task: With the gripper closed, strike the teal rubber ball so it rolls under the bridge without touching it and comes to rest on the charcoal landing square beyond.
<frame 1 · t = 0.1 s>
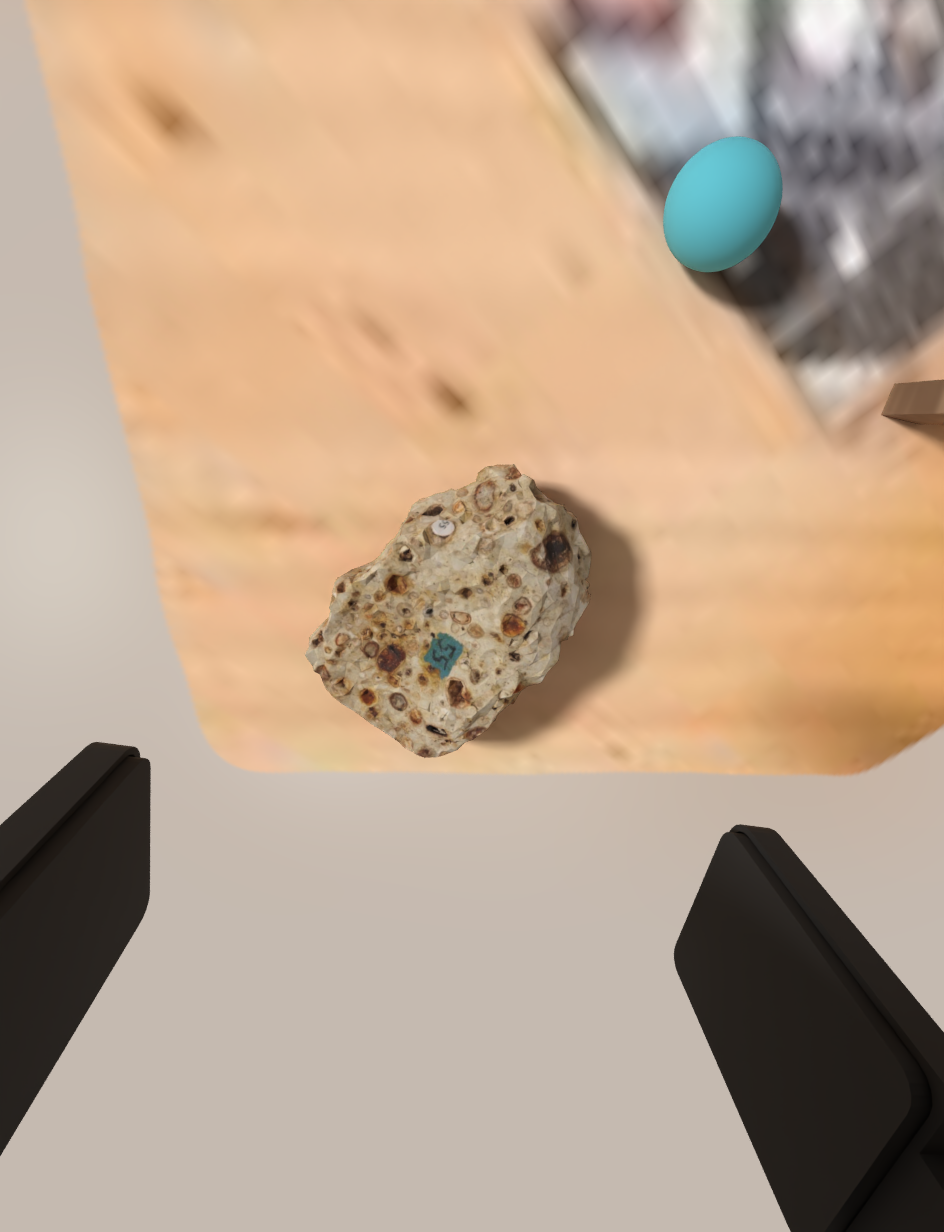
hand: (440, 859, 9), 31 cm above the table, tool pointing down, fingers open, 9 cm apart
rock: (451, 595, 40), on the table
ball: (720, 208, 30), on the table
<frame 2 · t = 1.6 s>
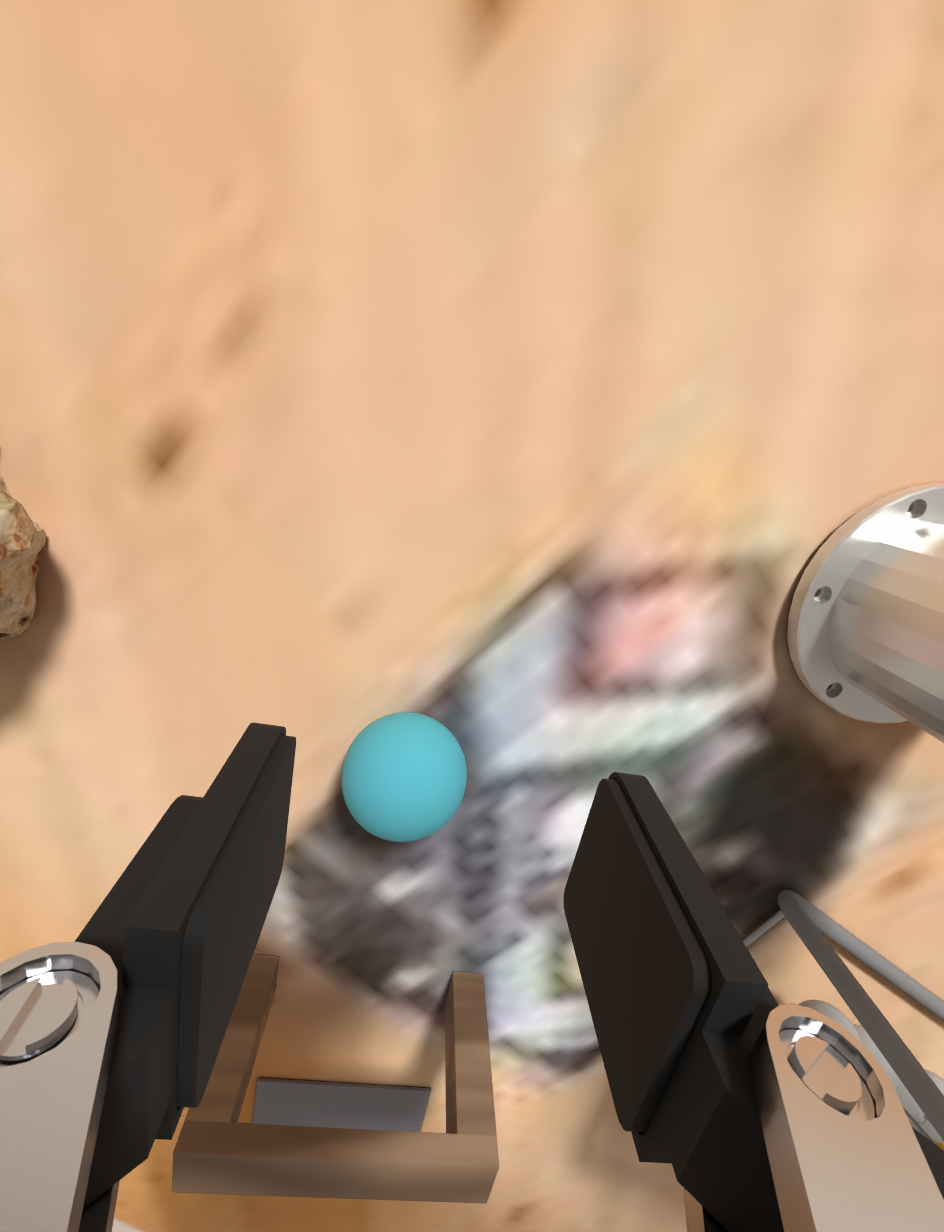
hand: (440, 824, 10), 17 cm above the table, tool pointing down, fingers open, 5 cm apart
bridge: (364, 980, 35), on the table
ball: (404, 775, 26), on the table
newton's cradle: (847, 1013, 39), on the table, touching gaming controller
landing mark: (336, 1136, 40), on the table
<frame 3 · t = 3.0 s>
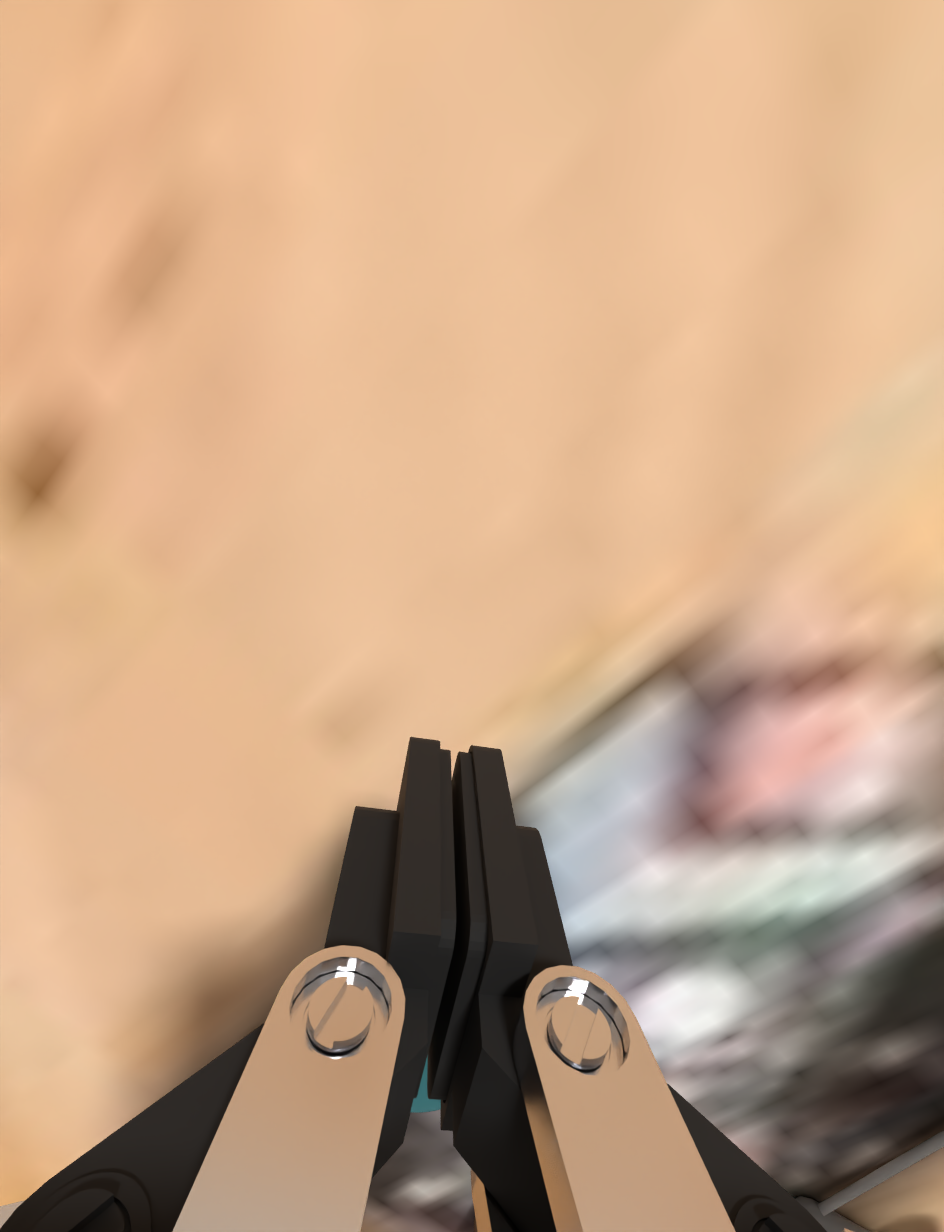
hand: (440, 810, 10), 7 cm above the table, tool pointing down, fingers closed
ball: (423, 980, 17), on the table
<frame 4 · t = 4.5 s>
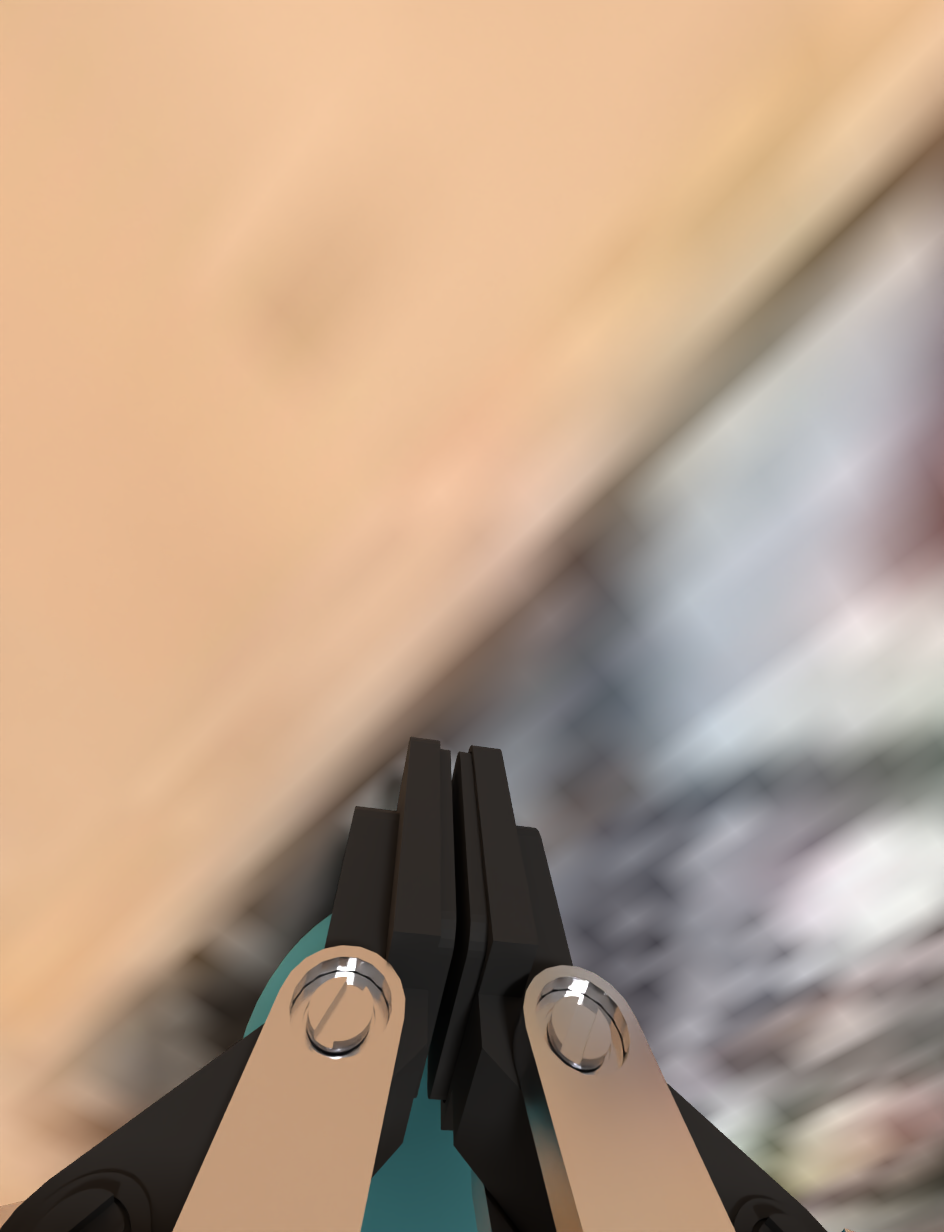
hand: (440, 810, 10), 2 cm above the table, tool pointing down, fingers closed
ball: (400, 1064, 10), on the table
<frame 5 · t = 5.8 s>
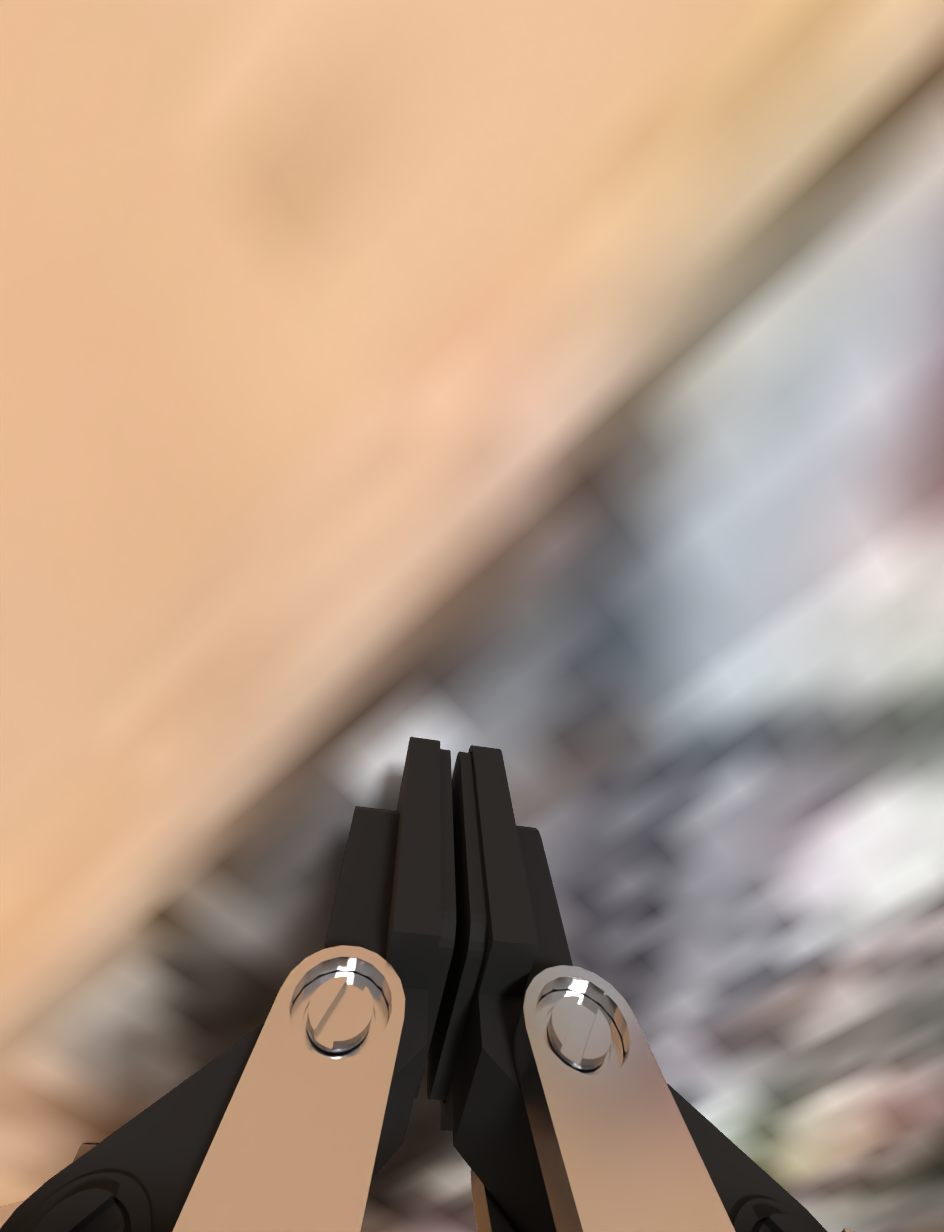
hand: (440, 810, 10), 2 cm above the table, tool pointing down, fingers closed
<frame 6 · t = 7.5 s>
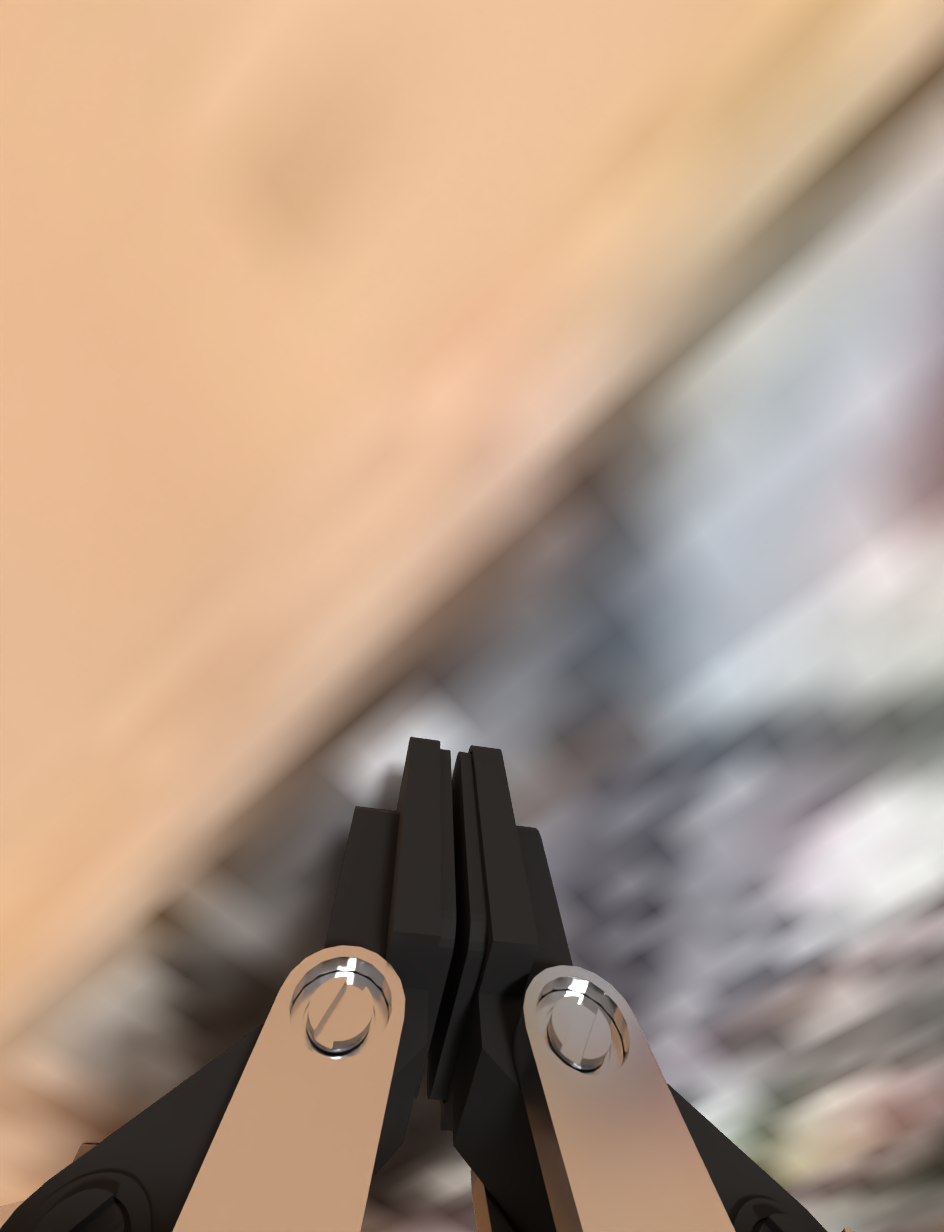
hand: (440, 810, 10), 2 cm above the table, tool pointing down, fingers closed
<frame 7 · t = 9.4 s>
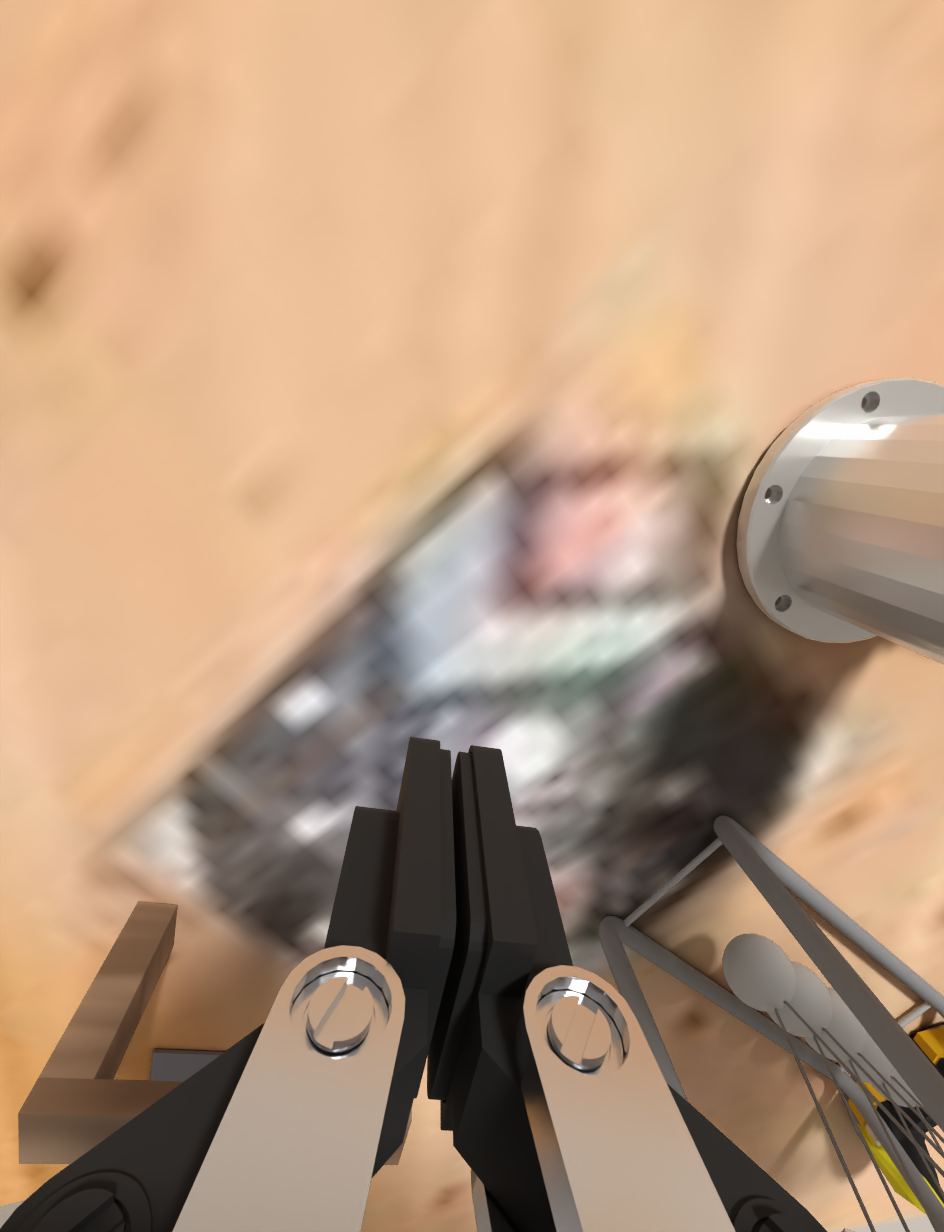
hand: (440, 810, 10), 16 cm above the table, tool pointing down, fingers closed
bridge: (276, 933, 31), on the table
newton's cradle: (782, 956, 37), on the table
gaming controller: (911, 1066, 44), on the table
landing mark: (245, 1115, 36), on the table
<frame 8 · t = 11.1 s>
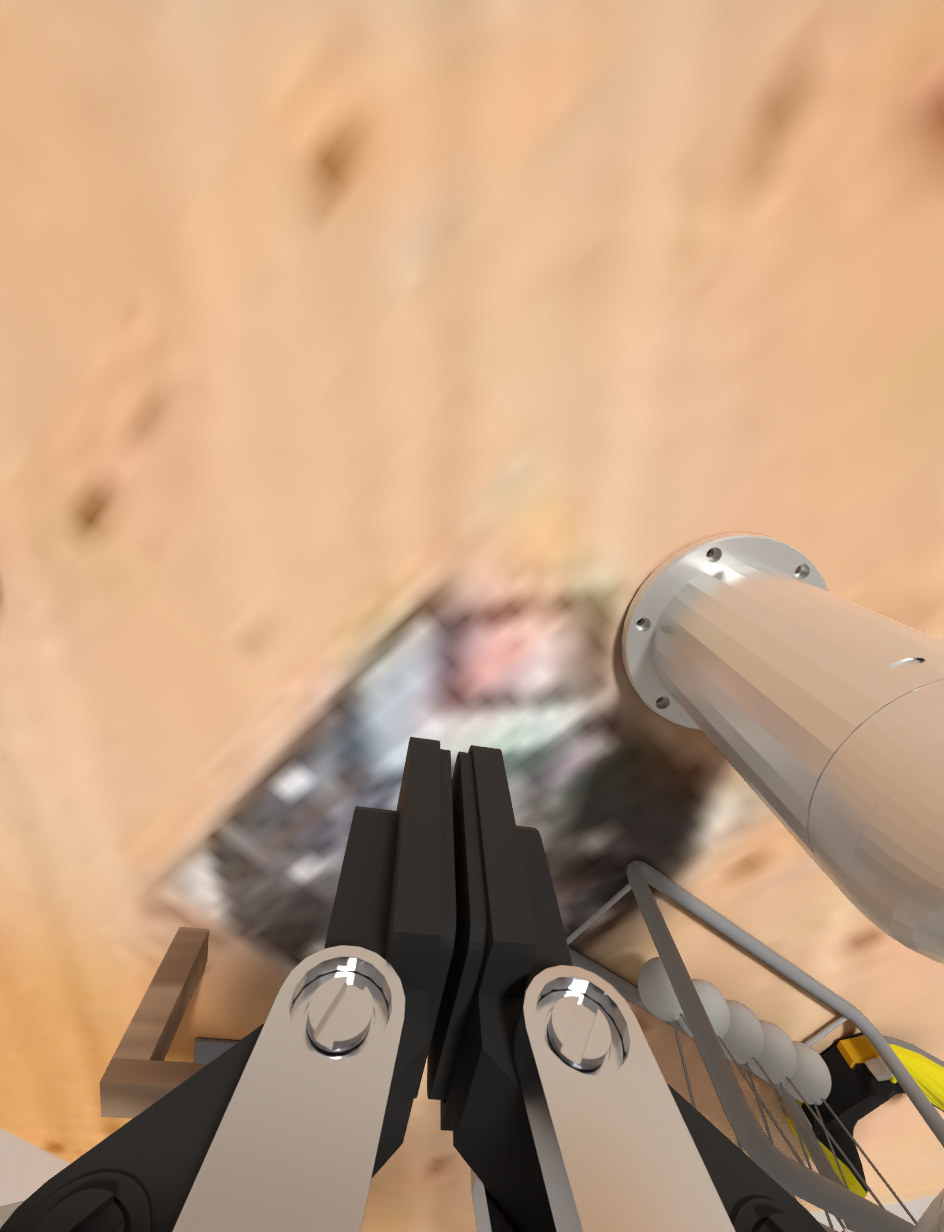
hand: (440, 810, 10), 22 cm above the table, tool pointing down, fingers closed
bridge: (284, 952, 40), on the table
newton's cradle: (707, 973, 44), on the table
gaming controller: (842, 1069, 49), on the table
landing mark: (268, 1092, 45), on the table
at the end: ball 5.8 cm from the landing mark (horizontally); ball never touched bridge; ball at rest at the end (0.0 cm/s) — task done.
